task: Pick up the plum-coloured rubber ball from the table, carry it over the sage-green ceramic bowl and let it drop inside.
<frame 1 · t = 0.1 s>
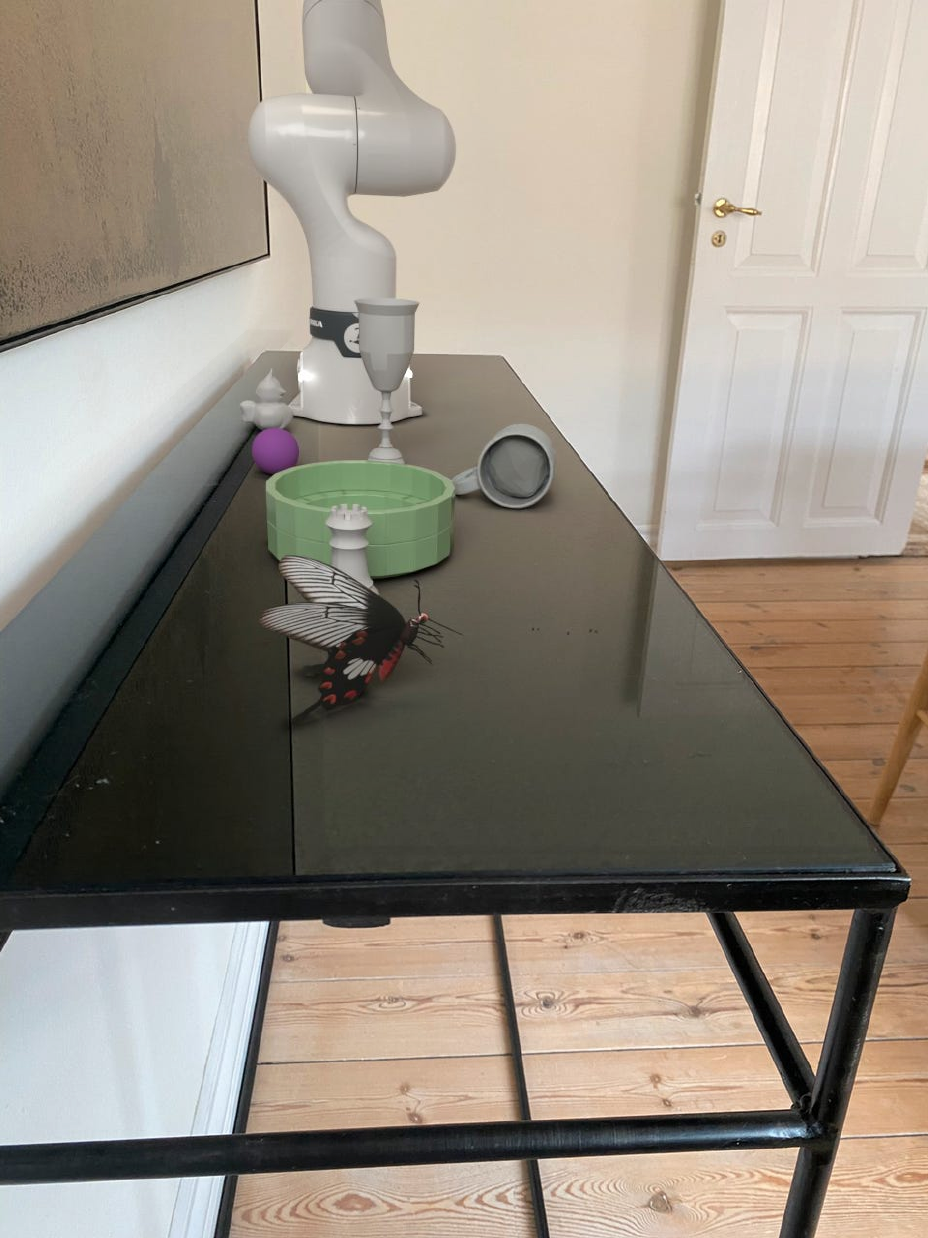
bowl: (361, 551, 80), on the table
ball: (275, 451, 100), point 2 cm above the table
rook chess piece: (349, 616, 68), on the table
chalice: (385, 472, 104), on the table
ceramic mug: (502, 499, 96), on the table
rubber duck: (267, 433, 119), on the table
butterfly: (351, 712, 55), on the table
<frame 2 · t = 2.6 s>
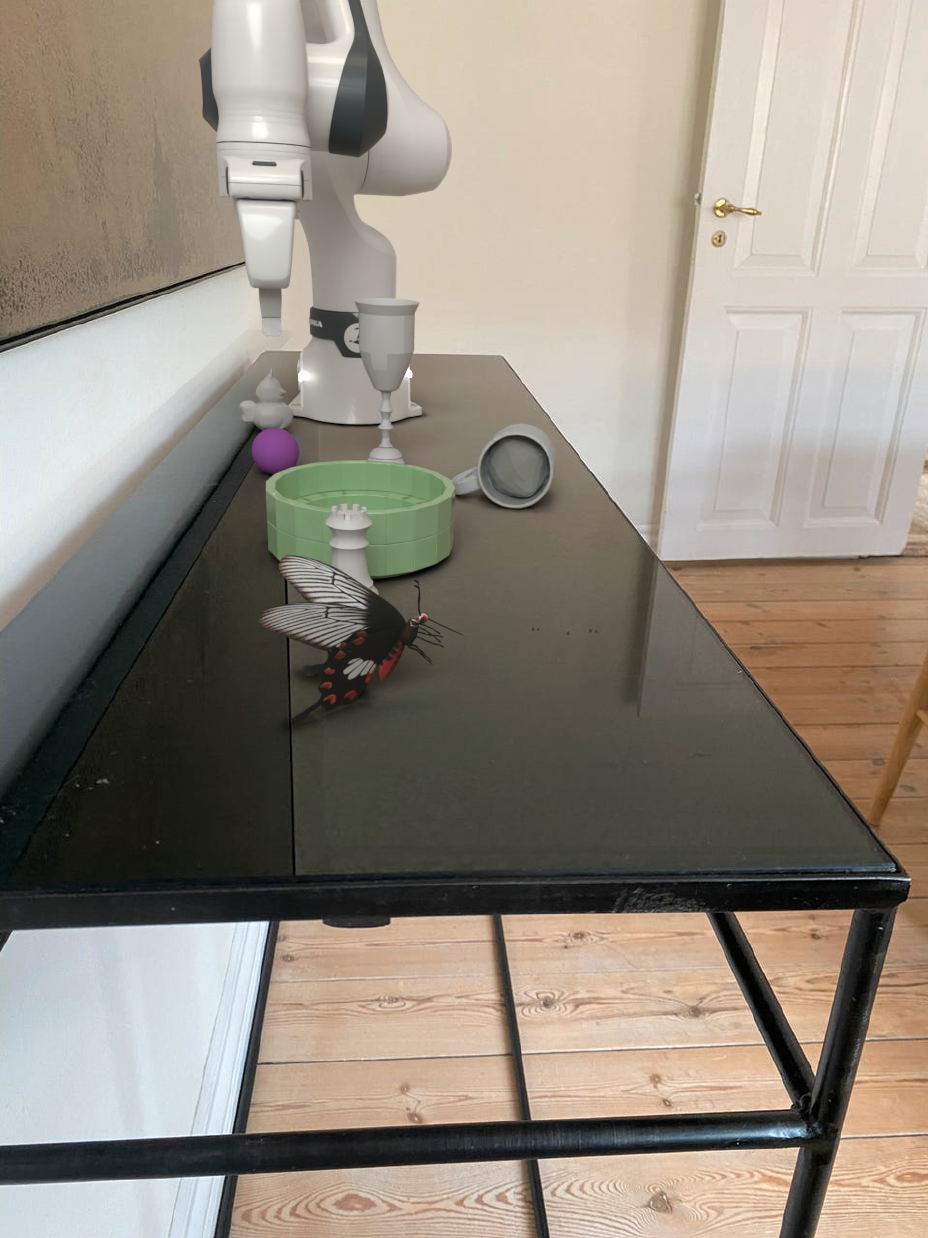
hand: (272, 330, 95), 15 cm above the table, tool pointing down, fingers open, 8 cm apart
nothing on the table moved.
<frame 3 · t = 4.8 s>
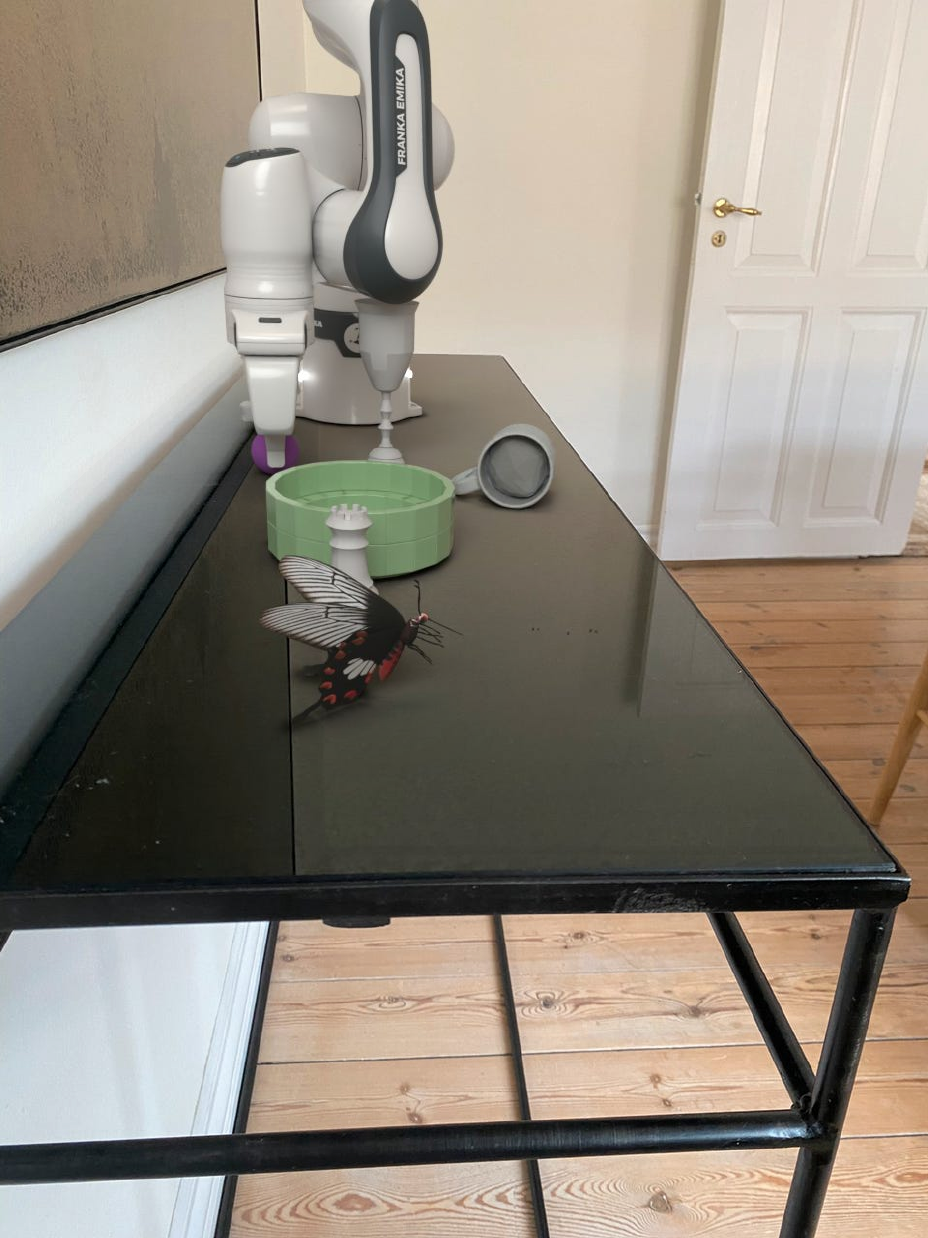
hand: (276, 458, 100), 2 cm above the table, tool pointing down, fingers closed on ball, 5 cm apart
ball: (275, 451, 100), point 2 cm above the table, touching gripper
everything else where it was.
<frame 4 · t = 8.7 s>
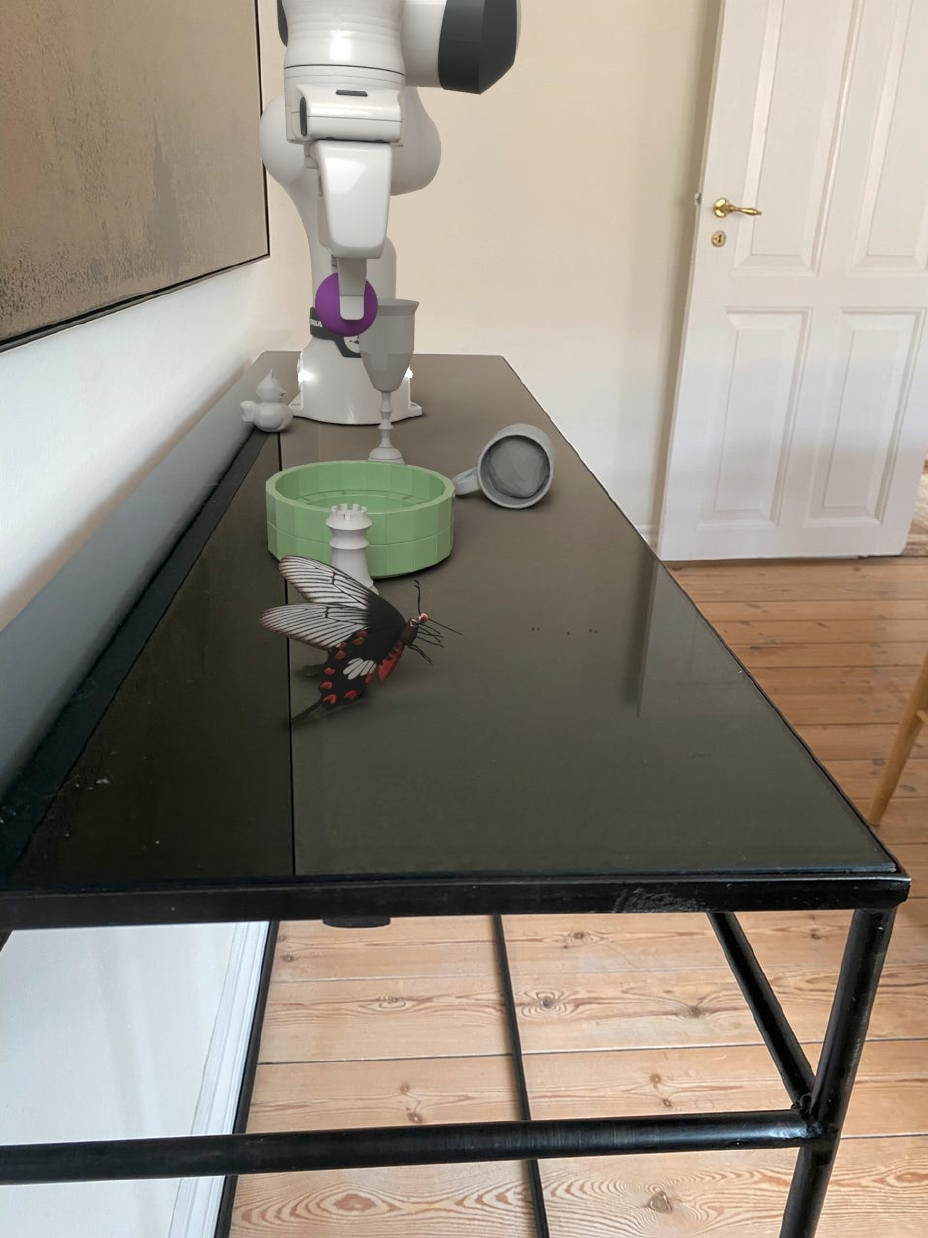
hand: (348, 314, 75), 19 cm above the table, tool pointing down, fingers closed on ball, 5 cm apart
ball: (346, 304, 74), point 20 cm above the table, touching gripper
everything else where it was.
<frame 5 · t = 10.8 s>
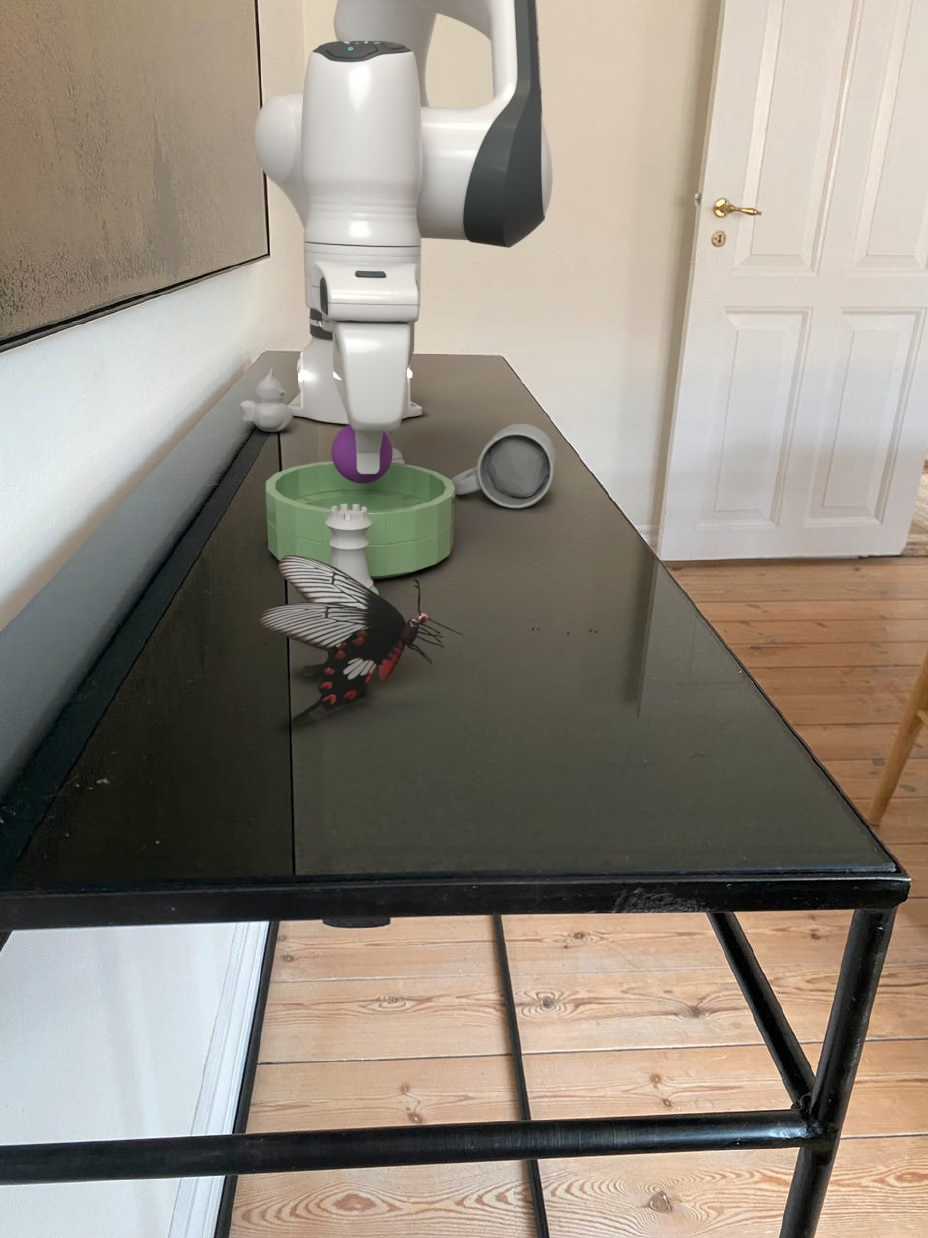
hand: (363, 462, 77), 8 cm above the table, tool pointing down, fingers closed on ball, 5 cm apart
ball: (362, 452, 76), point 9 cm above the table, touching gripper
everything else where it was.
when the fingers open (3 cm above the table, at t = 12.7 s): ball stays where it is, resting on bowl.
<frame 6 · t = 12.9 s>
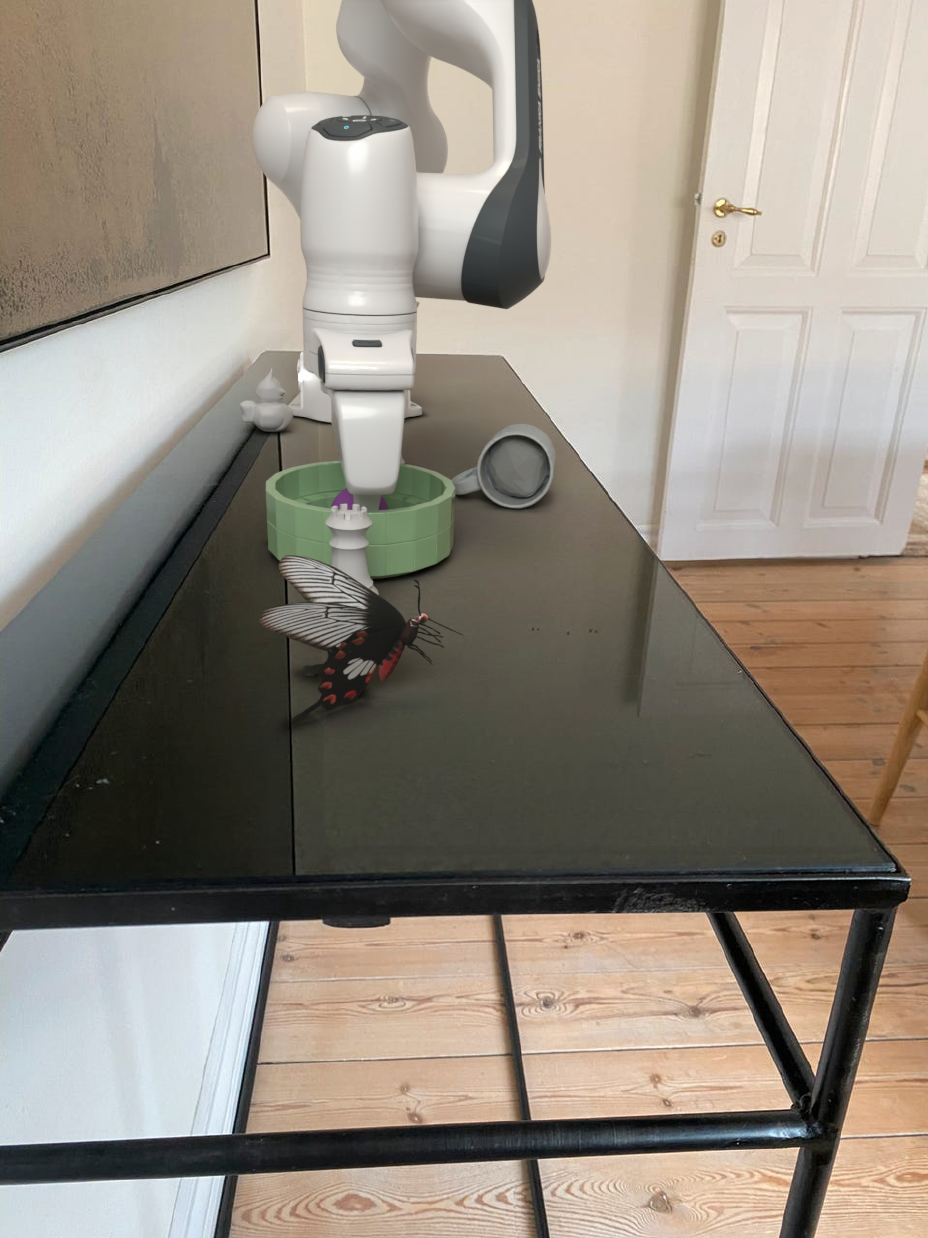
hand: (360, 515, 79), 3 cm above the table, tool pointing down, fingers open, 7 cm apart
ball: (359, 515, 79), point 3 cm above the table, touching bowl
everything else where it was.
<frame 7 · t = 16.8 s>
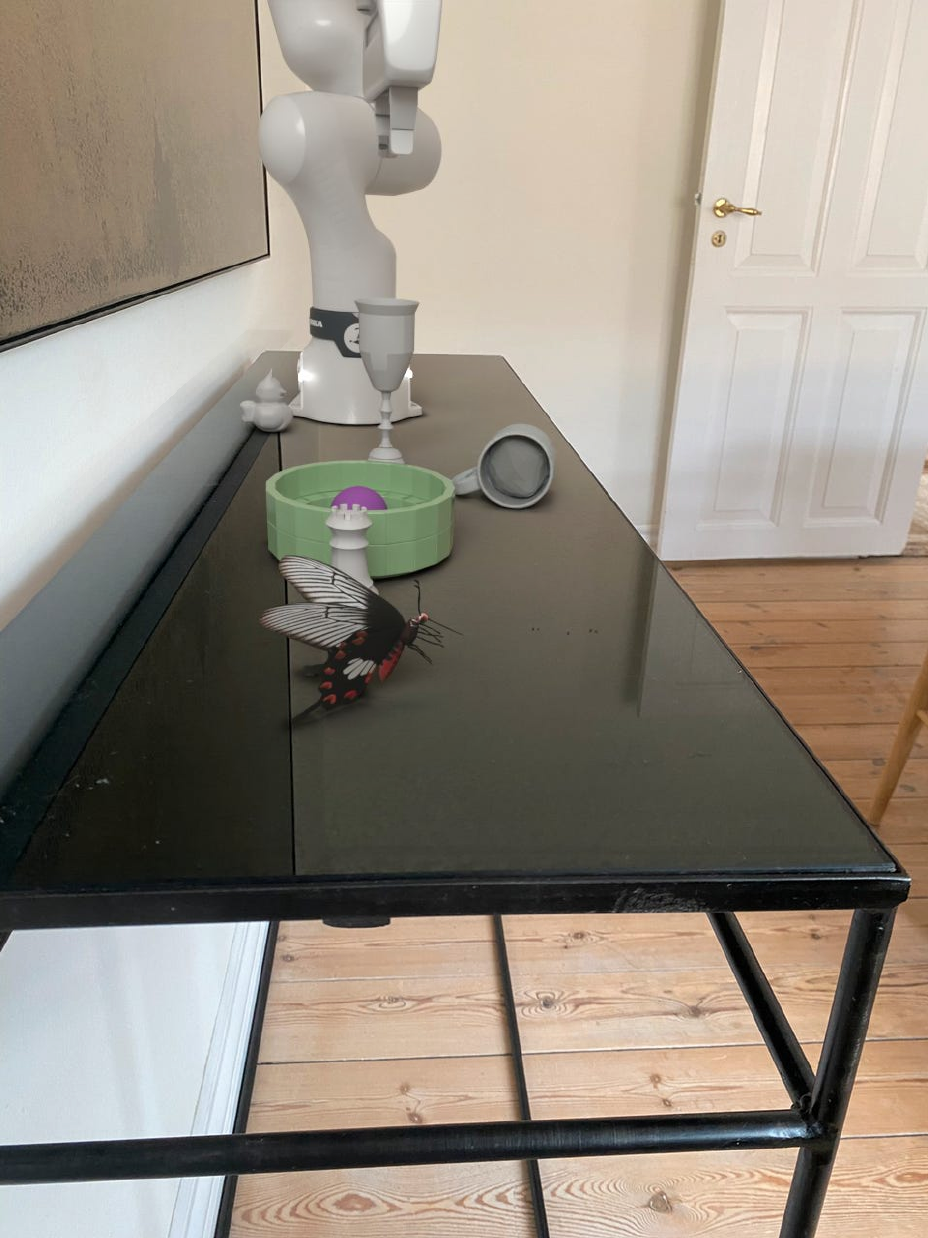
hand: (393, 156, 80), 31 cm above the table, tool pointing down, fingers open, 8 cm apart
ball: (358, 515, 78), point 3 cm above the table, tilted 7°, touching bowl
everything else where it was.
at the end: ball inside the target area in the bowl (0.3 cm from its centre), point 3.3 cm above the bowl's base; the gripper is holding nothing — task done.
